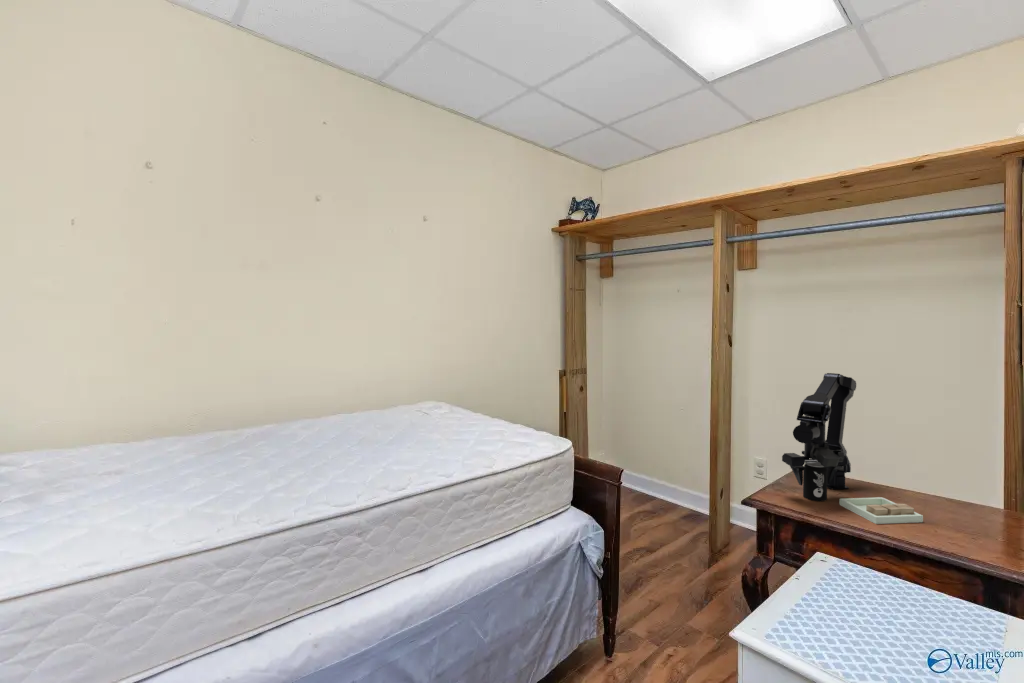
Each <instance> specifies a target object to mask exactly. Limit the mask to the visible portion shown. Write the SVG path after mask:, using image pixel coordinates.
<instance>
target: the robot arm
mask: <svg viewBox="0 0 1024 683" xmlns="http://www.w3.org/2000/svg"><path fill="white" fill-rule="evenodd" d="M856 389H857V381H856V380H855V379H853V378H852V377H849V376H845V375H844V374H840V373H834V372H833V373H832V372H826V373H824V374H823V378H822V380H821V383H820V384H819V386H818V387H817V389H816V390H815V392H814V393H813V394H810V395H808V396H806V397H804V399H803V400H802V401H801V402H800V406H799V410H798V413H797V416H796V421H800V422H799V424H798V425H796V426H795V427H794V429H793V431H792V435H793V438H794V439H795V440H796V441H797V442H798V443H801V444H804V446H803V447H804V448H803V449H804V450H802V451H801V454H802V455H800V454H797V453H795V452H789V453H788V452H786V453H785V452H784V453H783V454H782V456H781V461H782V462H783V463H785V464H786V465H788V466H789V467H790V469H791V470H792V472H793V475H794V476H795V478H796V480H797V483H798V485H800V486H803V470H804V469H805V467H804V465H805V462H820V463H821V465H822V466H824V467H826V468H827V489H828V488H829V489H830V490H849V489H850V487H849V486H847V485H846V474H847V473H851V472H852V471H851V470H852V468H851V466H852V465H851V462H850V460H849V456H848V455H847V454H848V453H847V449H846V448H845V445H844V444H843V436H844V428H845V421H846V420H845V419H846V412H847V405H848V404H847V403H848V402H849V401H850V400H851V399H852V398H853V396H854V392H855V391H856ZM827 422H828V424H827V431H826V423H827ZM826 432H827V433H826Z"/></svg>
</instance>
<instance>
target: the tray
mask: <svg viewBox="0 0 1024 683" xmlns="http://www.w3.org/2000/svg"><path fill="white" fill-rule="evenodd" d="M883 504H891V505H893V504H897V503H896V502H894V501H891V500H889V499H887V498H885V497H881V496H877V497H854V498H853V497H850V498H839V506H841V507H842V508H845V509H846V510H849V511H850V512H852V513H854V514H856V515H858V516H860V517H861V518H864V519H865V520H867V521H869V522H871V523H873V524H875V525H881V524H883V525H887V524H889V525H890V524H913V523H915V524H917V523H918V524H919V523H924V515H923V514H920V513H918V512H916V511H914V514H913V515H885V516H876V515H874V514H872V513H870V512H868V511H866V505H883Z"/></svg>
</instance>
